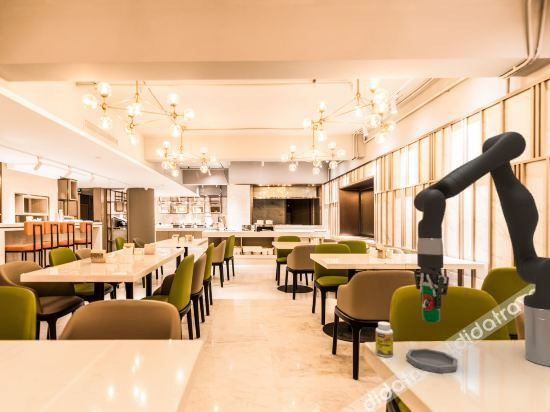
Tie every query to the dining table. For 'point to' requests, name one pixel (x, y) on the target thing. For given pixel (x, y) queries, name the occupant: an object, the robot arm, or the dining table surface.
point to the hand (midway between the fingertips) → (430, 306)
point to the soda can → (429, 304)
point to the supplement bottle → (384, 339)
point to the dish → (432, 360)
